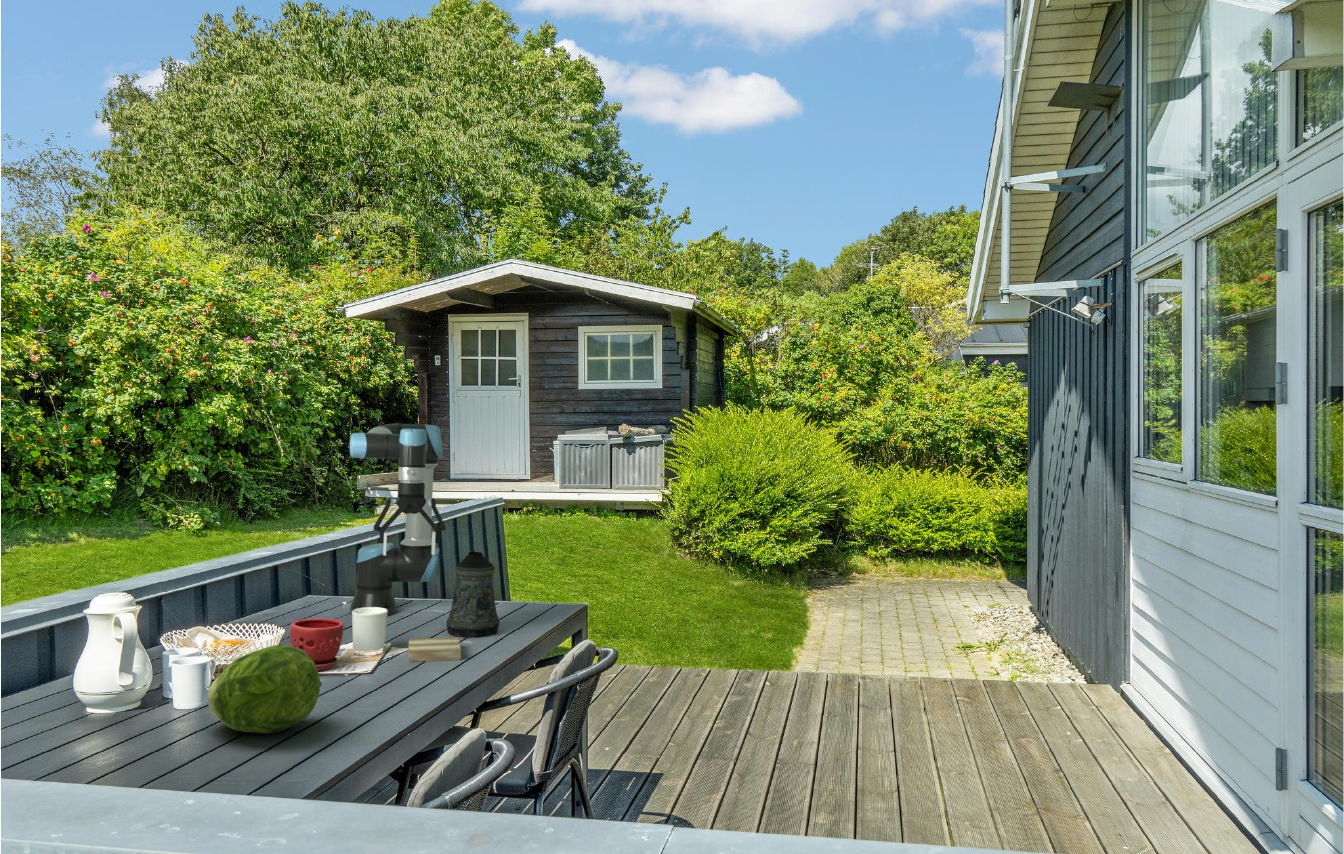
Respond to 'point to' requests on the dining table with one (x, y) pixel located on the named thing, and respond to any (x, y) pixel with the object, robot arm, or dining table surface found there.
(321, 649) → the plant pot
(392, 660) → the dining table surface
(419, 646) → the plinth
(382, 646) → the candle holder
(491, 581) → the beer stein
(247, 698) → the lettuce
